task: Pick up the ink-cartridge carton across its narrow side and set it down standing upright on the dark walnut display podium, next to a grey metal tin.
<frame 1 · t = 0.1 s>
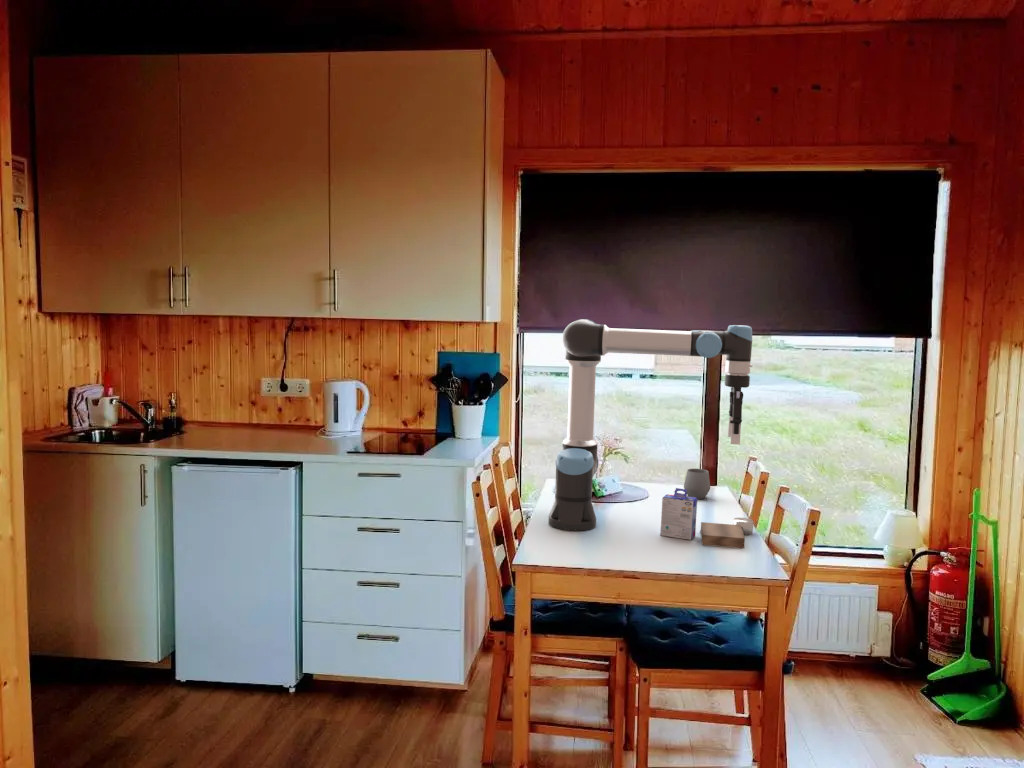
hand: (733, 440, 256), 28 cm above the table, fingers open, 13 cm apart
tin: (742, 532, 252), on the table
cup: (696, 497, 295), on the table
ink cartridge box: (677, 536, 246), on the table
podium: (721, 539, 244), on the table
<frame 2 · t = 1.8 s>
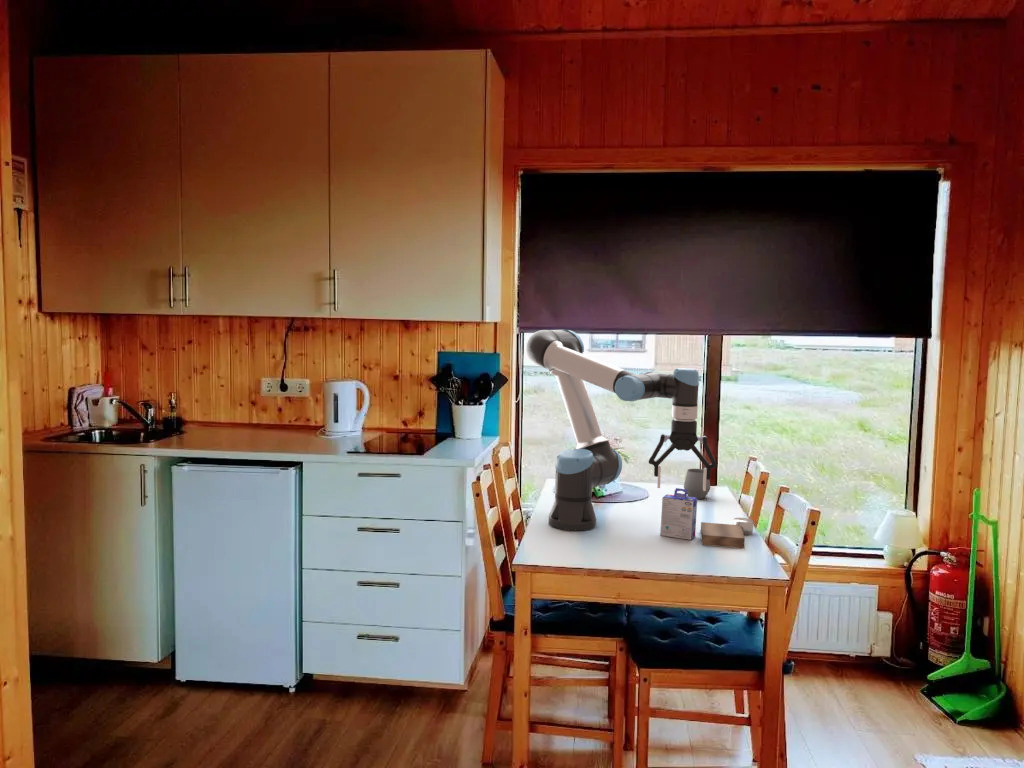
hand: (681, 488, 244), 15 cm above the table, fingers open, 13 cm apart
nothing on the table moved.
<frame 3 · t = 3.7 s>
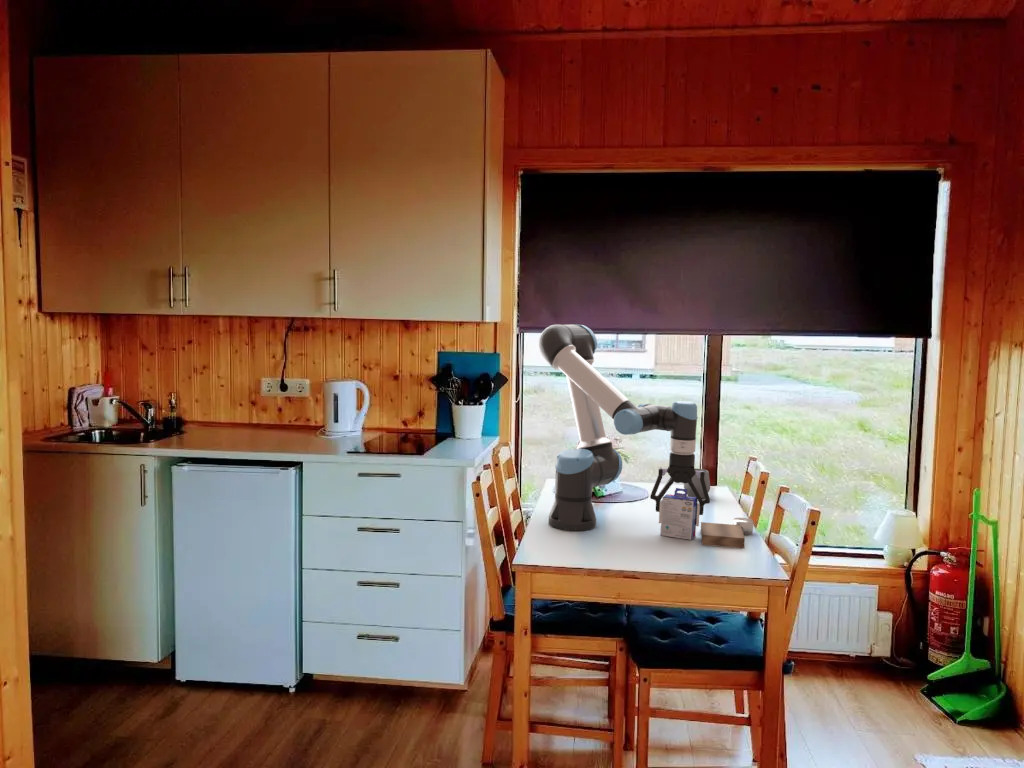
hand: (678, 523, 246), 4 cm above the table, fingers closed on ink cartridge box, 10 cm apart
ink cartridge box: (678, 536, 246), on the table, touching gripper
everything else where it was.
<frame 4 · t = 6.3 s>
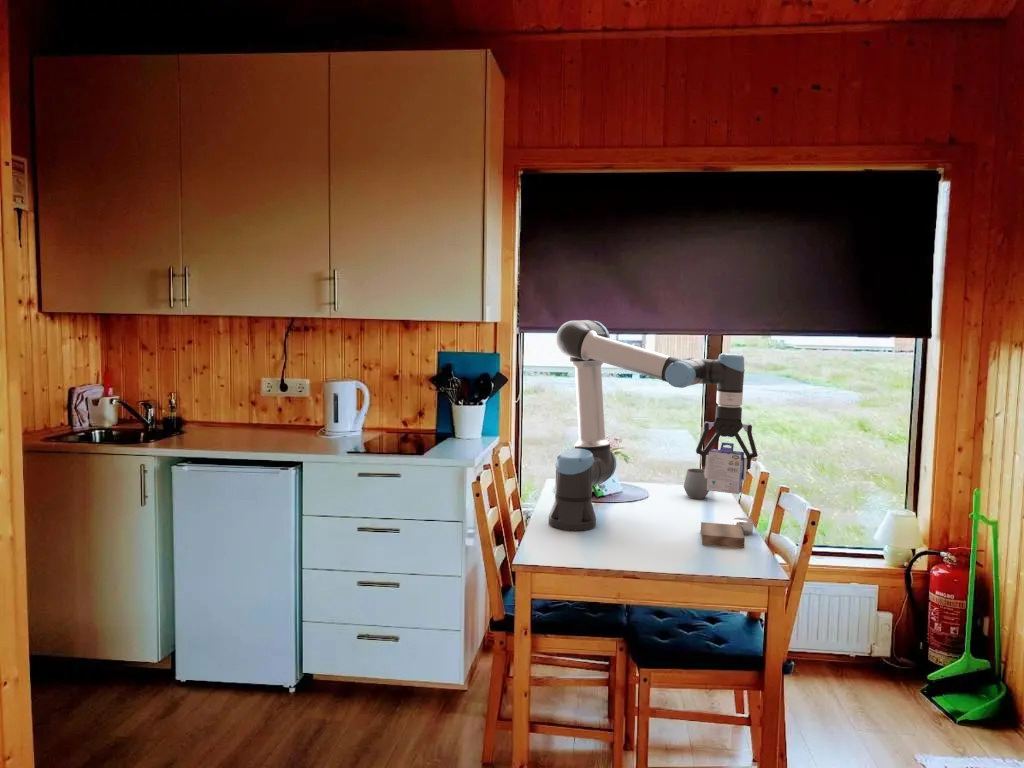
hand: (724, 478, 241), 19 cm above the table, fingers closed on ink cartridge box, 10 cm apart
ink cartridge box: (724, 491, 242), point 15 cm above the table, touching gripper
everything else where it was.
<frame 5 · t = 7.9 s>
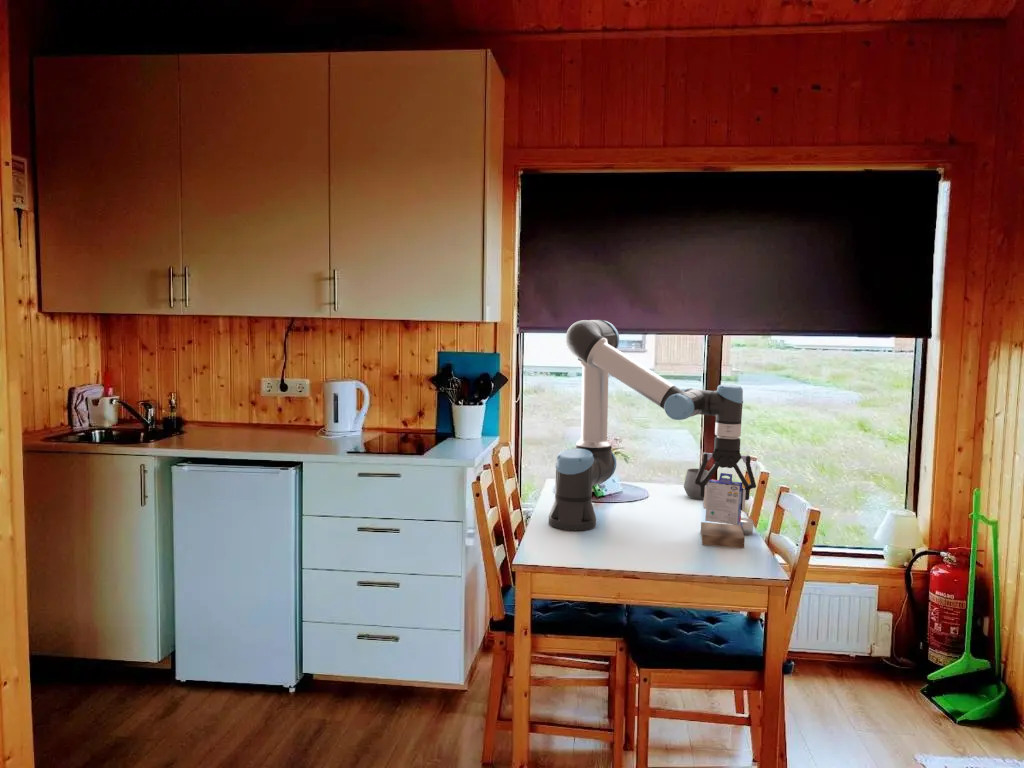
hand: (723, 508, 242), 10 cm above the table, fingers closed on ink cartridge box, 10 cm apart
ink cartridge box: (723, 522, 243), point 5 cm above the table, touching gripper
everything else where it was.
when the fingers open (8 cm above the table, at t = 9.3 s): ink cartridge box stays where it is, resting on podium.
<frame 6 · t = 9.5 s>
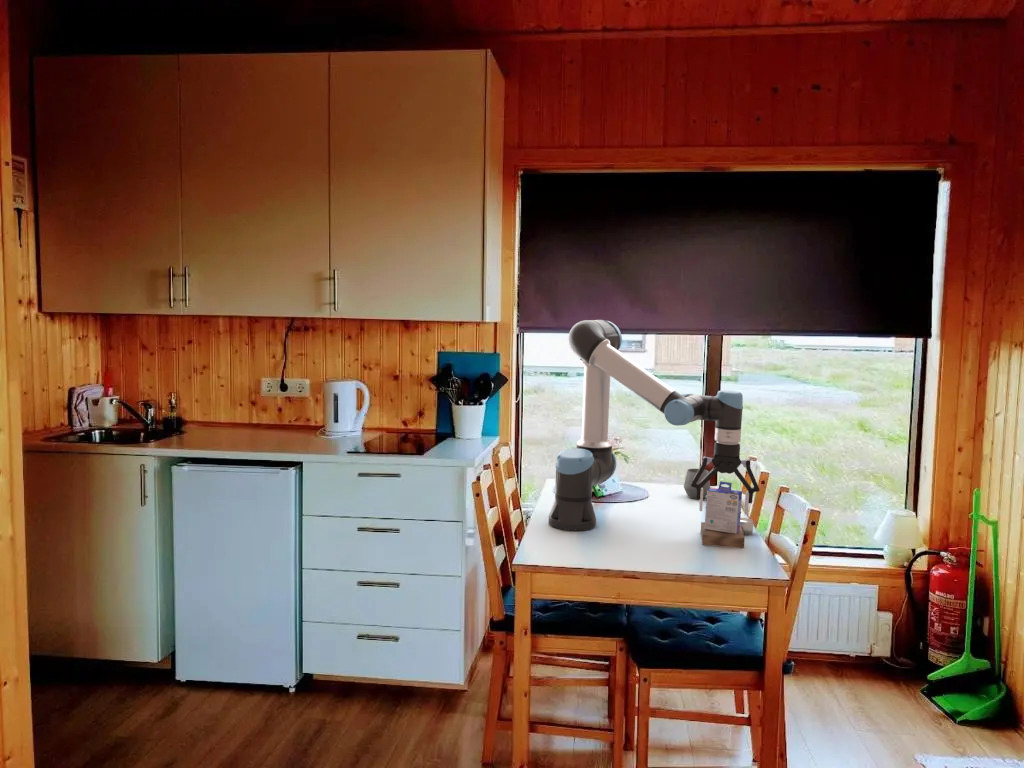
hand: (723, 511, 243), 9 cm above the table, fingers open, 13 cm apart
ink cartridge box: (722, 530, 243), point 3 cm above the table, touching podium
everything else where it was.
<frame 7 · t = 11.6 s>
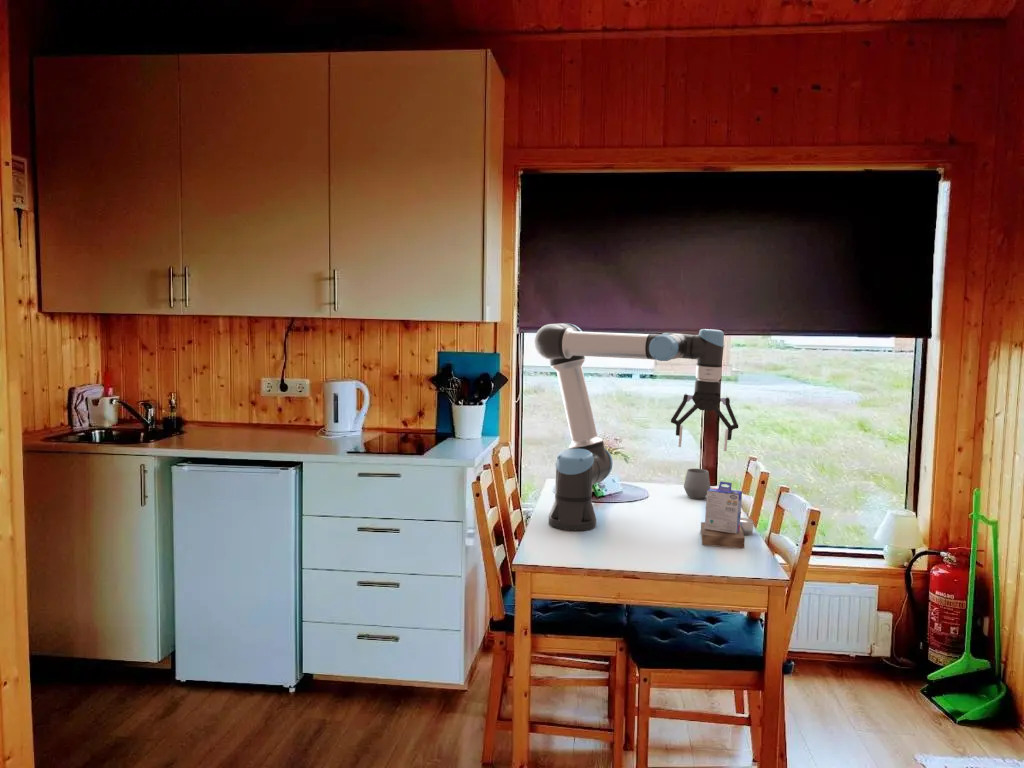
hand: (702, 448, 247), 27 cm above the table, fingers open, 13 cm apart
nothing on the table moved.
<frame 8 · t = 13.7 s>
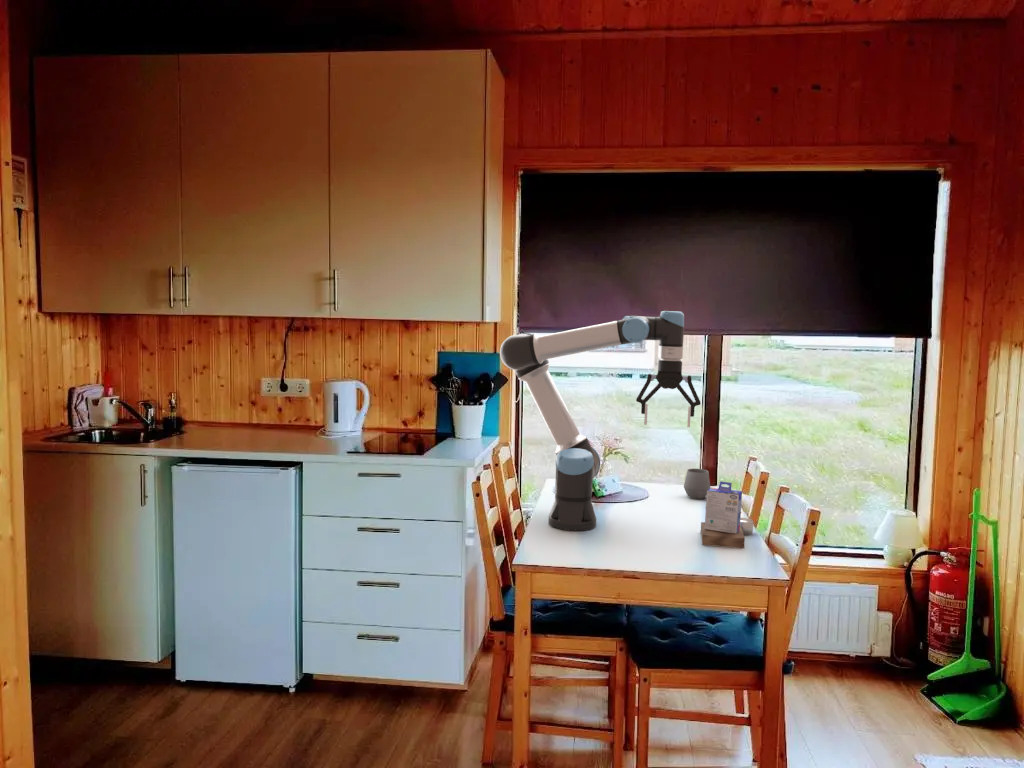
hand: (666, 425, 258), 32 cm above the table, fingers open, 13 cm apart
nothing on the table moved.
at the end: ink cartridge box inside the target area on the podium (0.0 cm from its centre), point 2.8 cm above the podium's base; ink cartridge box tilted 0°; the gripper is holding nothing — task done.
